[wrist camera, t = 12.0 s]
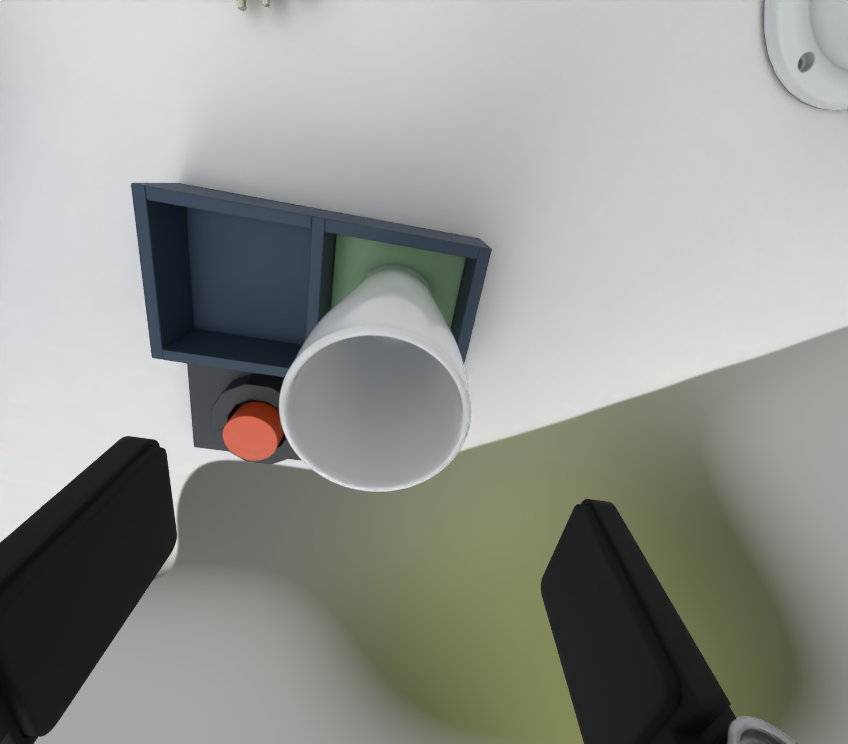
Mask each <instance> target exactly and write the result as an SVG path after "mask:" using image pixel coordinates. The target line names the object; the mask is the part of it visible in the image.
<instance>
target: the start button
mask: <svg viewBox="0 0 848 744" xmlns="http://www.w3.org/2000/svg"><path fill="white" fill-rule="evenodd" d="M283 435H284V431H283V428H282V424H281V420H280V414H279V411H278V410H277V409H276V408H275V407H273V406H271V405H269V404H267V403H264V402H249V403H246V404H244V405H242V406H241V407H239V408H238V410H237V411H236V412H235V413H234V415H233V416H232V417H231V419H230V420H229V421H228V422H227V424H226V425H225V427H224V429H223V440H224V442H225V445H226V446H227V448H228V449H229V450H230V451H231V452H232V453H234V454H235V455H236V456H238V457H240V458H243V459H246V460H253V461H256V460H263V459H265V458H268V457H269V456H271V455H272V454H273V453H274V452H275V450H276V449H277V447H278V445H279V443H280V441H281V439H282V437H283Z"/></svg>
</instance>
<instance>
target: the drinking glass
mask: <svg viewBox="0 0 848 744" xmlns="http://www.w3.org/2000/svg"><path fill="white" fill-rule="evenodd" d="M279 414H280V420H281V424H282V428H283V431H284V433H285V436H286V438H287V440H288V442H289V444H290V446H291V447H292V448H293V450H294V451H295V453H296V454H297V455H298V456H299V458H300V459H301V460H302V461H303V462H304V463H305V464H306V465H307V466H309V467H310V468H311V469H312V470H314V471H315V472H316V473H318V474H319V475H321V476H323V477H324V478H326V479H328V480H330V481H332V482H334V483H337V484H339V485H342V486H345V487H348V488H352V489H357V490H363V491H374V492H384V491H394V490H400V489H404V488H408V487H411V486H414V485H417V484H419V483H422V482H424V481H426V480H428V479H430V478H431V477H433V476H434V475H436V474H438V473H439V472H440V471H441V470H443V469H444V468H445V467H446V466H447V465H448V464H449V463H450V462H451V461H452V460H453V459H454V458H455V456H456V455H457V453H458V452H459V451H460V449H461V447H462V445H463V444H464V441H465V439H466V436H467V433H468V430H469V426H470V420H471V403H470V397H469V391H468V384H467V378H466V373H465V368H464V364H463V361H462V357H461V354H460V350H459V348H458V345H457V342H456V340H455V337H454V335H453V333H452V331H451V329H450V327H449V325H448V323H447V321H446V320H445V318H444V316H443V314H442V312H441V311H440V309H439V307H438V305H437V303H436V301H435V299H434V296H433V292H432V290H431V287H430V286H429V284H428V282H427V281H426V280H425V278H424V277H423V276H422V275H421V274H420V273H418V272H417V271H415V270H414V269H412V268H410V267H408V266H404V265H400V264H387V265H382V266H379V267H377V268H375V269H373V270H371V271H370V272H368V273H367V274H366V275H365V276H364V277H363V278H362V280H361V281H360V282H359V284H358V285H357V286H356V287H355V288H354V289H353V290H352V291H351V292H349V293H348V294H347V295H346V296H345V297H344V298H343V299H341V300H340V301H339V302H338V303H337V304H336V305H335V306H334V307H332V308H331V309H330V310H329V311H328V312H327V313H326V314H325V316H324V317H323V318H322V319H321V320H320V321H319V322H318V323H317V325H316V326H315V327H314V329H313V330H312V331H311V333H310V334H309V335H308V337H307V338H306V340H305V342H304V343H303V345H302V347H301V348H300V350H299V352H298V353H297V355H296V357H295V359H294V361H293V363H292V365H291V366H290V368H289V370H288V372H287V374H286V376H285V378H284V380H283V384H282V387H281V391H280V397H279Z"/></svg>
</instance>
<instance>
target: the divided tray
mask: <svg viewBox="0 0 848 744" xmlns="http://www.w3.org/2000/svg"><path fill="white" fill-rule="evenodd" d="M131 187H132V196H133V204H134V212H135V221H136V229H137V237H138V246H139V254H140V262H141V271H142V279H143V287H144V296H145V304H146V312H147V321H148V329H149V337H150V345H151V354H152V358H157V359H164V360H169V361H176V362H183V363H190V364H197V365H204V366H210V367H217V368H224V369H231V370H238V371H245V372H252V373H259V374H266V375H273V376H280V377H285V376H286V374H287V372H288V370H289V368H290V366H291V365H292V363H293V361H294V359H295V357H296V355H297V353H298V352H299V350H300V348H301V347H302V345H303V343H304V342H305V340H306V338H307V337H308V335H309V334H310V333H311V331H312V330H313V329H314V327H315V326H316V325H317V323H318V322H319V321H320V320H321V319H322V318H323V317H324V316H325V314H326V313H327V312H328V311H329V310H330V309H331V308H332V307H334V306H335V305H336V304H337V303H338V302H339V301H340V300H341V299H343V298H344V297H345V296H346V295H347V294H348V293H349V292H351V291H352V290H353V289H354V288H355V287H356V286H357V285H358V284H359V282H360V281H361V280H362V278H363V277H364V276H365V275H366V274H367V273H368V272H370V271H371V270H373V269H375V268H377V267H379V266H382V265H387V264H400V265H404V266H408V267H410V268H412V269H414V270H415V271H417V272H418V273H420V274H421V275H422V276H423V277H424V278H425V280H426V281H427V282H428V284H429V286H430V287H431V290H432V292H433V296H434V299H435V301H436V303H437V305H438V307H439V309H440V311H441V312H442V314H443V316H444V318H445V320H446V321H447V323H448V325H449V327H450V329H451V331H452V333H453V335H454V337H455V340H456V342H457V345H458V348H459V350H460V354H461V357H462V361H463V364H464V362H465V358H466V354H467V350H468V346H469V342H470V337H471V333H472V329H473V325H474V321H475V317H476V312H477V308H478V304H479V300H480V296H481V291H482V287H483V283H484V279H485V275H486V271H487V266H488V262H489V258H490V254H491V248H490V247H489V246H487V245H486V244H485V243H484V242H483V241H481V240H480V239H479V238H473V237H468V236H462V235H457V234H451V233H446V232H441V231H435V230H430V229H424V228H419V227H414V226H408V225H403V224H397V223H392V222H386V221H381V220H376V219H370V218H365V217H359V216H354V215H349V214H343V213H338V212H332V211H327V210H322V209H316V208H311V207H305V206H300V205H294V204H289V203H284V202H278V201H273V200H267V199H262V198H257V197H251V196H246V195H240V194H235V193H229V192H224V191H219V190H213V189H208V188H202V187H197V186H192V185H186V184H181V183H132V184H131Z"/></svg>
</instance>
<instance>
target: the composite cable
mask: <svg viewBox="0 0 848 744" xmlns="http://www.w3.org/2000/svg"><path fill="white" fill-rule="evenodd" d="M262 4H263V5H264V6H265V7H269V6H270V1H269V0H262ZM237 7H238V8H239V9H240V10H241V11H244V10H246V1H245V0H237Z"/></svg>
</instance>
